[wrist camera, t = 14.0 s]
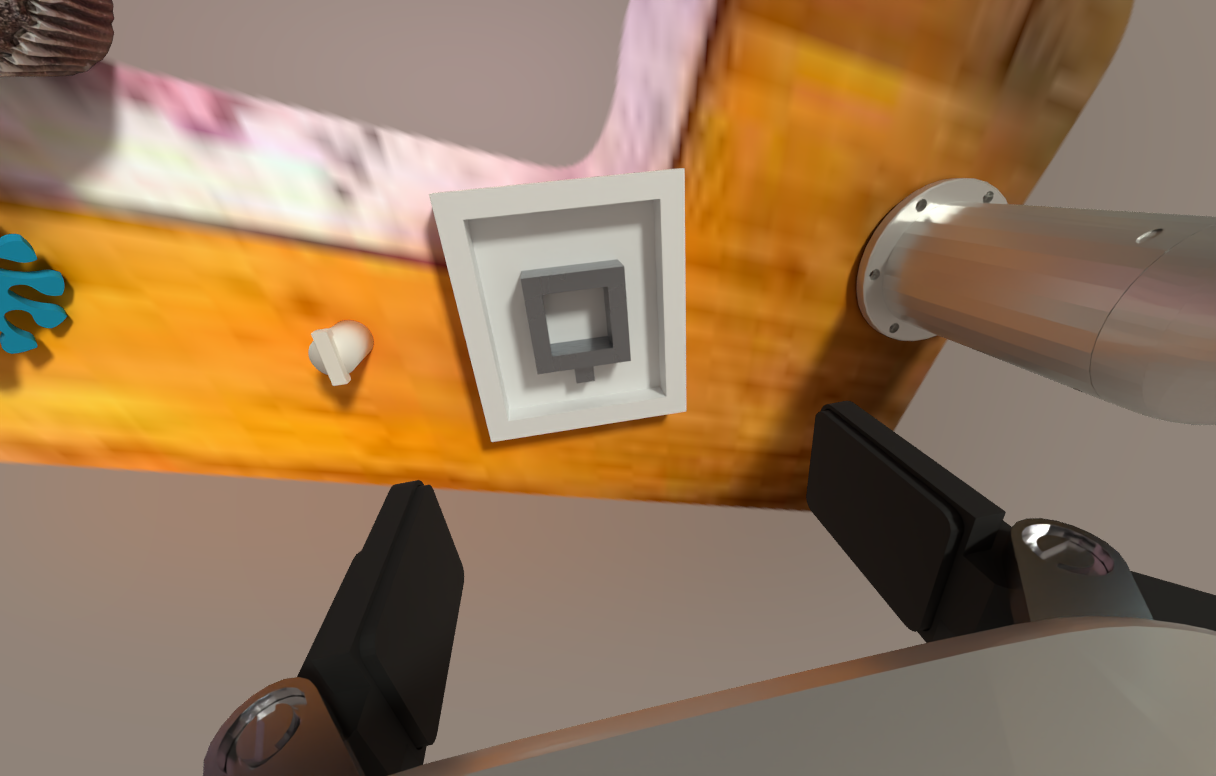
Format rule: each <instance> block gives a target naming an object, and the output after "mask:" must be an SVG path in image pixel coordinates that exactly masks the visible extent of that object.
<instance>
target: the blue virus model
mask: <svg viewBox="0 0 1216 776" xmlns="http://www.w3.org/2000/svg"><path fill="white" fill-rule="evenodd" d="M0 258H3V259H8V260H12V261H15V262H22V263H26V262H32V261H35V260H36V259H37V257H36V254H35V252H34V249H33V248H32V246H31V245H30V244H29V242H28V241H27V240H26V239H24V238H23V237H22V236H21V235H19V234H8V235H4V236H2V237H1V238H0ZM14 285H28V286H31V287H33V288H34V289H36V290H37V291H39V292H41V293H43V294H46V295H50V296H59V295H62V294H63V292H64V279H63V277H62V275H61V273H60V272H58V271H54V270H40V271H32V272H20V271H12V270H7V269H2V268H0V331H1V332H2V333H1V335H0V342H1V346H2V348H3V350H4V351H6V352H8V353H10V354H14V353H20V352H25V351H28V350H31V349H34V348H37V343H36V340H35V337H34V335H32V334H31V333H29V332H27V331H24V330H22V329H19V328H17V327H15V326H14V325H12V324H11V323H10V322H9V321H8V320H7V319H6V318H5V316H4V314H5V313H6V312H8V311H11V310H24V311H27V312H29V313H30V314H31V315H32V316H33V318H34V320H35V322H36V323H37V324H38V325H40V326H42V327H45V328H53V327H56V326H57V325H59V324H60V323H61V322H63V321H64V320H65V318H66V317H67V315H66V313H65V310H64V309H63V308H62V307H61V306H59V305H56V304H52V303H42V302H36V301H32V300H29V299H26V298H24V297H22V296H20V295H18V294H16V293H14V292H12V291H11V290H9V288H10V287H11V286H14Z"/></svg>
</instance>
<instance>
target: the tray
mask: <svg viewBox="0 0 1216 776" xmlns="http://www.w3.org/2000/svg"><path fill="white" fill-rule="evenodd" d="M429 196H430V200H431V204H432V208H433V212H434V216H435V220H436V224H437V228H438V232H439V236H440V240H441V244H442V248H443V252H444V256H445V260H446V264H447V268H448V272H449V276H450V280H451V284H452V288H453V292H454V296H455V300H456V304H457V308H458V312H459V316H460V320H461V324H462V328H463V331H464V335H465V339H466V343H467V347H468V351H469V355H470V359H471V363H472V367H473V371H474V375H475V379H476V383H477V387H478V391H479V395H480V399H481V403H482V407H483V411H484V415H485V419H486V423H487V427H488V431H489V435H490V439H491V442H496V441H502V440H509V439H515V438H521V437H527V436H534V435H540V434H546V433H553V432H559V431H565V430H572V429H578V428H584V427H590V426H597V425H603V424H609V423H616V422H622V421H628V420H635V419H641V418H647V417H653V416H660V415H666V414H672V413H679V412H685V411H686V307H685V176H684V168H680V169H666V170H656V171H647V172H637V173H627V174H617V175H607V176H597V177H587V178H577V179H567V180H557V181H547V182H537V183H527V184H518V185H508V186H498V187H488V188H478V189H468V190H458V191H448V192H438V193H432V194H429ZM616 259H618V260H619V261H620V262H621V263H622V264H623V265H624V269H625V283H626V297H627V312H628V326H629V340H630V354H631V361H627V362H620V363H613V364H606V365H599V366H593V367H594V376H595V381H590V382H584V383H576V377H575V370H574V369H572V370H565V371H558V372H551V373H544V374H537V368H536V363H535V357H534V352H533V346H532V340H531V335H530V329H529V324H528V318H527V313H526V307H525V301H524V296H523V290H522V285H521V271H525V270H533V269H542V268H550V267H558V266H566V265H575V264H583V263H591V262H599V261H608V260H616ZM543 300H544V306H545V312H546V318H547V325H548V331H549V337H550V344H553V343H560V342H567V341H575V340H582V339H589V338H596V337H603V336H608V333H607V322H606V312H605V301H604V290H603V287H600V288H592V289H585V290H577V291H569V292H561V293H553V294H545V295H543Z"/></svg>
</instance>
